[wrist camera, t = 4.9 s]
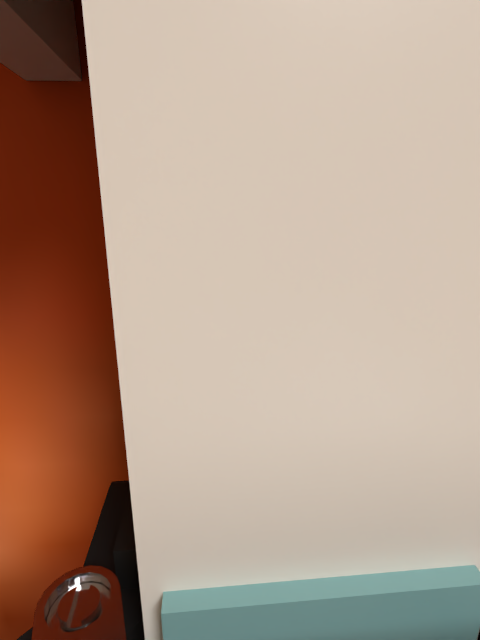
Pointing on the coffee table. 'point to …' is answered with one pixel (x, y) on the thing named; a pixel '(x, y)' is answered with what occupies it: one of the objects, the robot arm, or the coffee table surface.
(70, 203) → the coffee table surface
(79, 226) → the coffee table surface
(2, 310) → the coffee table surface
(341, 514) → the teal-tabbed cream block
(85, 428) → the coffee table surface
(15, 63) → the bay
